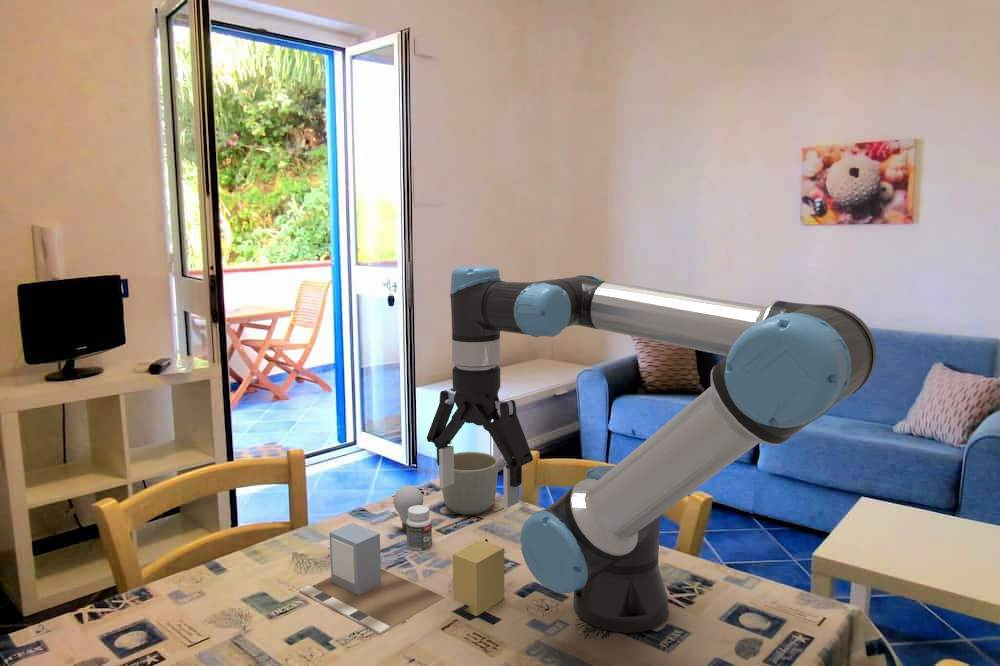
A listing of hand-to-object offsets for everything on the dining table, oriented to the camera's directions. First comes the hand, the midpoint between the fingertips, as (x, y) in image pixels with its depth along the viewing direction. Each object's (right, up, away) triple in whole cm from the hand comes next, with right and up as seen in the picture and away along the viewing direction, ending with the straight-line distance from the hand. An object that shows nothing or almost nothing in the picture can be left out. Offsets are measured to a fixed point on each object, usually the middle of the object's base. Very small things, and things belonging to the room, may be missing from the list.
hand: (477, 494), depth 119 cm
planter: (-3, -12, +41) cm, 43 cm away
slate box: (-21, -17, +7) cm, 28 cm away
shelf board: (-18, -18, +3) cm, 26 cm away
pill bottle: (-12, -16, +21) cm, 29 cm away
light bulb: (-15, -14, +29) cm, 35 cm away
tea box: (0, -18, +3) cm, 19 cm away
